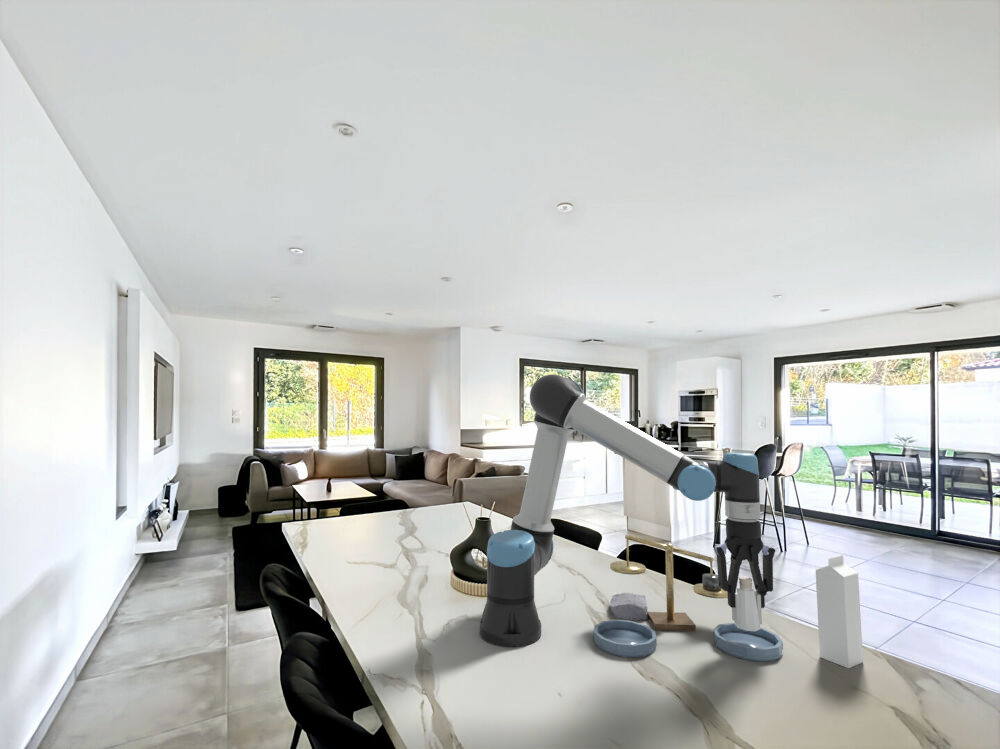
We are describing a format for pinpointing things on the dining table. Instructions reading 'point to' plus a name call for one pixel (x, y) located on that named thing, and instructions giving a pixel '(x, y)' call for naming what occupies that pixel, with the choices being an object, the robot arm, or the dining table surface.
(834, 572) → the milk
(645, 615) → the stone block
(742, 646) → the dish low side
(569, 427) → the robot arm
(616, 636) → the dish high side
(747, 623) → the salt shaker
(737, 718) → the dining table surface
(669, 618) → the balance
